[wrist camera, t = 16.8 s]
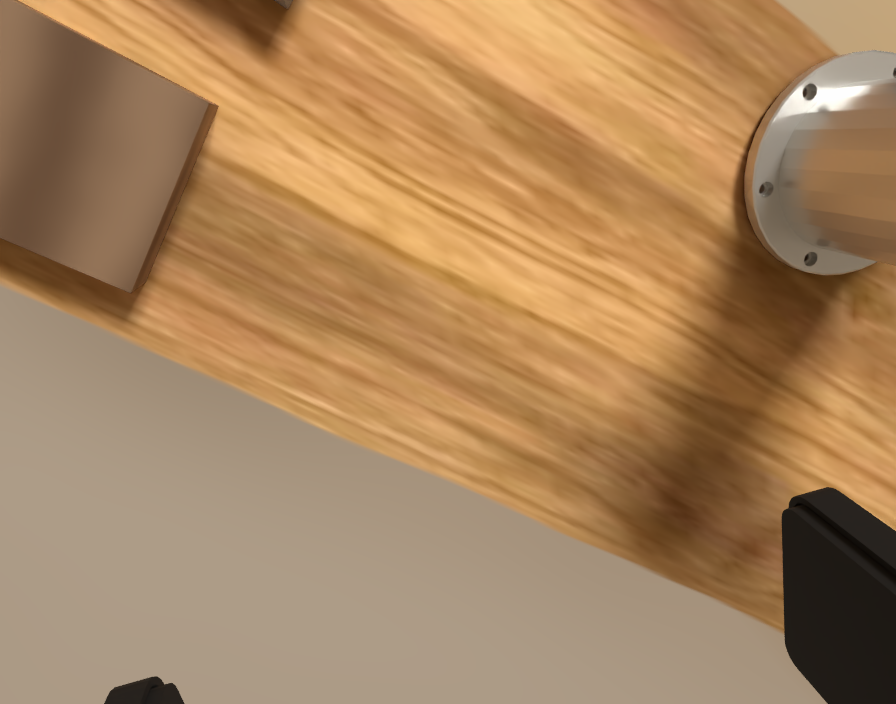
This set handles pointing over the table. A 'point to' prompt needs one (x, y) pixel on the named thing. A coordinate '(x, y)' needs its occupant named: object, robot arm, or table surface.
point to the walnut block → (90, 149)
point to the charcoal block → (284, 3)
